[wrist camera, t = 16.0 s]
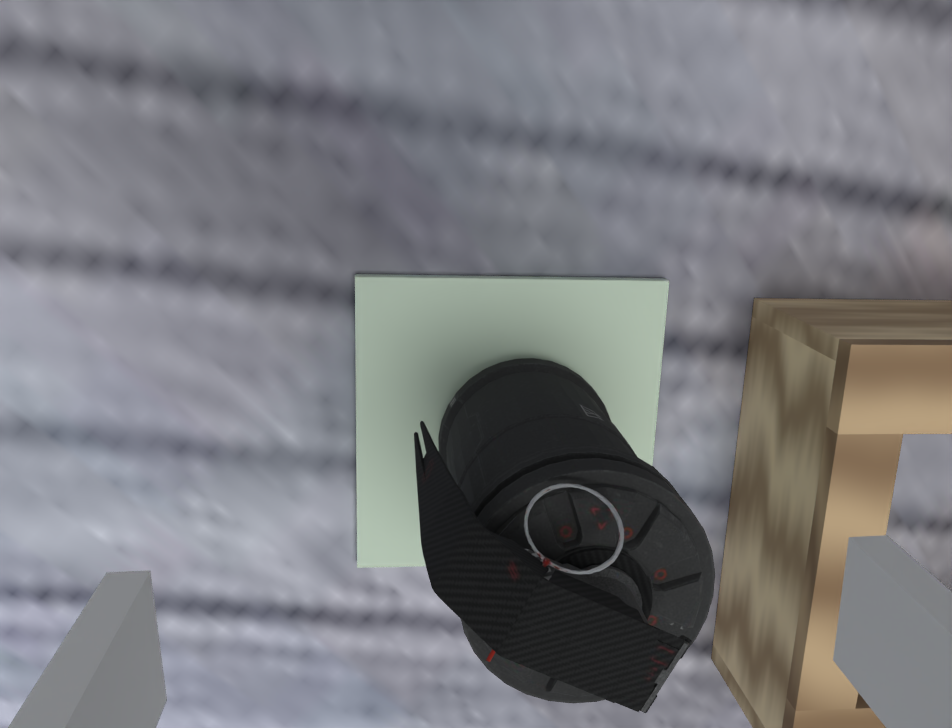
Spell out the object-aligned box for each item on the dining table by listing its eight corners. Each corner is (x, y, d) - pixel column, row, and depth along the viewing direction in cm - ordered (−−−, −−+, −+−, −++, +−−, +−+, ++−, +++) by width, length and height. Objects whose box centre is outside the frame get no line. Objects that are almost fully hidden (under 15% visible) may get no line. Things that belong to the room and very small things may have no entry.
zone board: (355, 274, 43) (354, 276, 42) (664, 278, 45) (669, 281, 44) (357, 560, 47) (357, 567, 47) (639, 554, 49) (643, 561, 48)
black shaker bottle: (553, 537, 47) (665, 819, 28) (373, 457, 45) (362, 704, 26) (637, 395, 46) (817, 593, 26) (454, 303, 43) (506, 447, 24)
